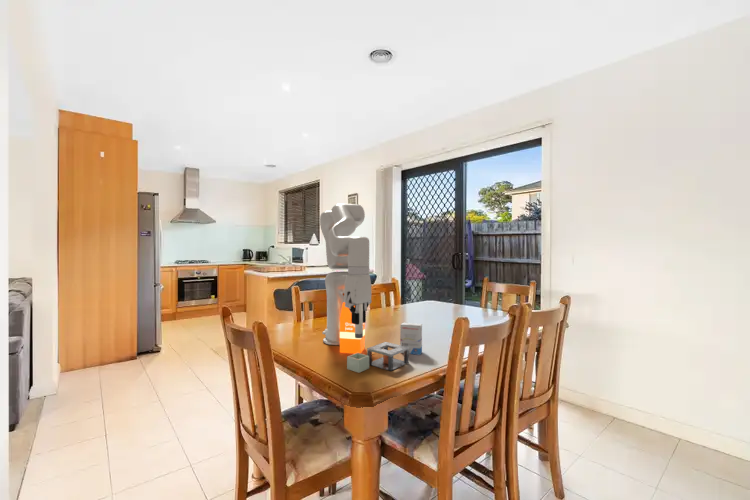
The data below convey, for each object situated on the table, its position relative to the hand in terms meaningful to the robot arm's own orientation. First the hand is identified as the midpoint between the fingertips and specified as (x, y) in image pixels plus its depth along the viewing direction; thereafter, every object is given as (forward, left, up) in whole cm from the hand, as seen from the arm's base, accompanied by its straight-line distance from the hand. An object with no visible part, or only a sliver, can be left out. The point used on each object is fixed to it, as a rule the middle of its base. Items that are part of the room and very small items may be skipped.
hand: (358, 322), depth 126 cm
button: (+5, +11, -16) cm, 20 cm away
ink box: (+4, +28, -17) cm, 33 cm away
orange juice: (-16, +14, -17) cm, 27 cm away
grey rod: (0, 0, -5) cm, 5 cm away
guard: (+5, +11, -17) cm, 21 cm away
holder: (0, 0, -17) cm, 17 cm away
